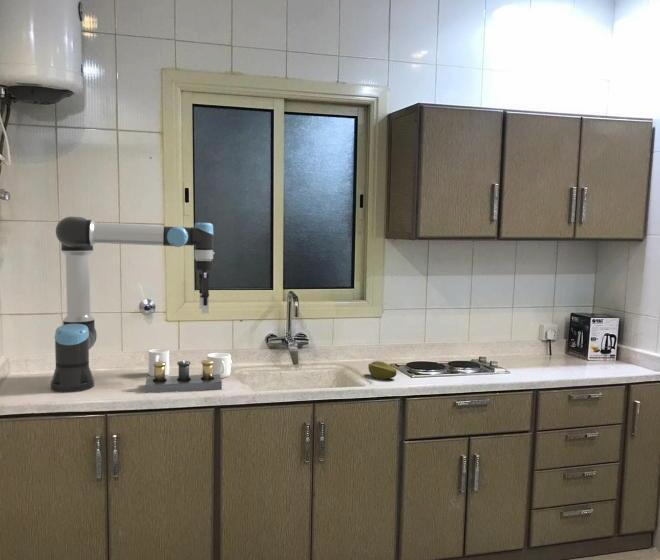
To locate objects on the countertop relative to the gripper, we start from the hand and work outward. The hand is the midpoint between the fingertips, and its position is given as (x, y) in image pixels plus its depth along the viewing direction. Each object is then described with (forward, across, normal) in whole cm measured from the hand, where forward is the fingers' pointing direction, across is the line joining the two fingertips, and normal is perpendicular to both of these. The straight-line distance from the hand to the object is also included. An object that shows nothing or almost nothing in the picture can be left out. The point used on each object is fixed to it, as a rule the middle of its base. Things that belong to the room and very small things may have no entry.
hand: (203, 311), depth 249 cm
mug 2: (+27, -4, -6) cm, 28 cm away
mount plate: (+27, -18, +9) cm, 34 cm away
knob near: (+24, -18, +18) cm, 35 cm away
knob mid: (+24, -18, +9) cm, 31 cm away
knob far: (+24, -18, 0) cm, 30 cm away
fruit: (+28, -18, -73) cm, 80 cm away
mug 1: (+27, +2, +18) cm, 33 cm away
